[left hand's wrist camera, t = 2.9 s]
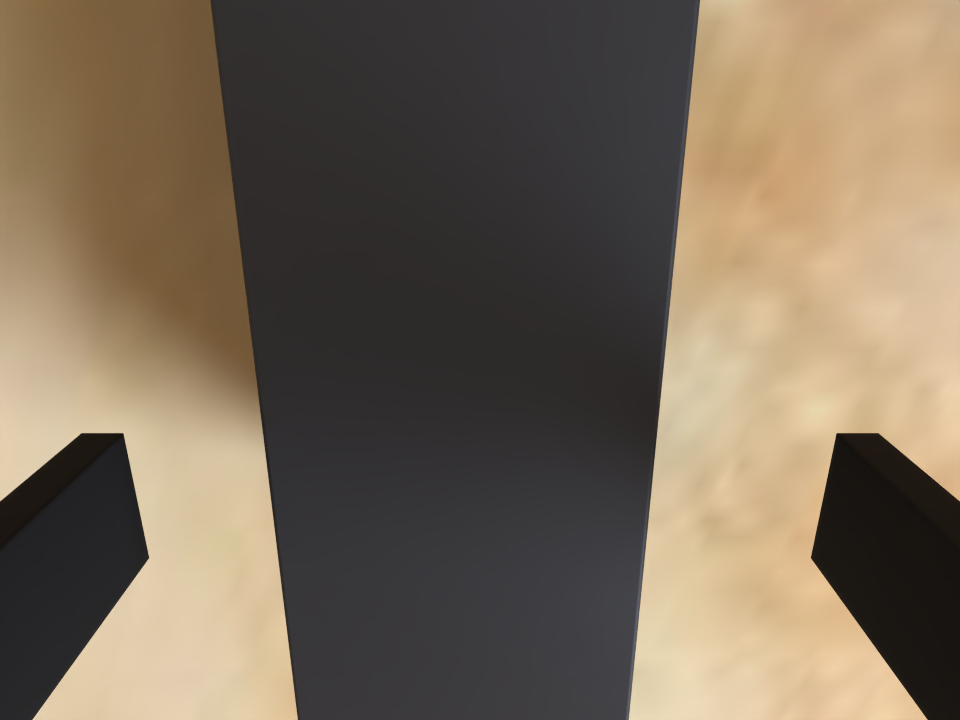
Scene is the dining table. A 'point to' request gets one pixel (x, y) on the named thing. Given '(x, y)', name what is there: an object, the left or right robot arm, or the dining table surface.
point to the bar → (458, 336)
